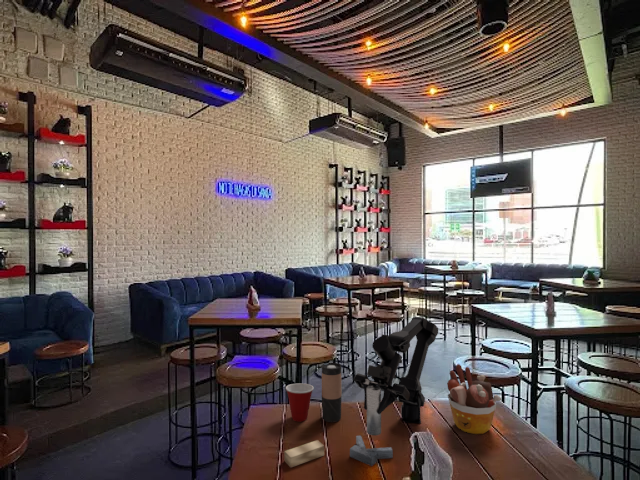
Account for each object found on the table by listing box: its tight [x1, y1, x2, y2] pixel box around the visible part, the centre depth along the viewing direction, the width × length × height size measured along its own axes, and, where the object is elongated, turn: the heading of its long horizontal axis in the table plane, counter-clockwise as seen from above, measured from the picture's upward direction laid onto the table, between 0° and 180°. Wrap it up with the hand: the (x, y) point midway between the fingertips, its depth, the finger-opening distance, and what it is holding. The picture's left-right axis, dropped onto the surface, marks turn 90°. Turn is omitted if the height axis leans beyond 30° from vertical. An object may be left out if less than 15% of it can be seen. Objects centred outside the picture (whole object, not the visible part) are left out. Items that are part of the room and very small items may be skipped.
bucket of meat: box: [447, 363, 502, 435], centre depth 136 cm, size 20×16×20 cm
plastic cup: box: [285, 383, 314, 423], centre depth 143 cm, size 11×11×12 cm
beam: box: [283, 439, 325, 468], centre depth 116 cm, size 12×4×3 cm, turn 123°
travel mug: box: [321, 362, 342, 423], centre depth 143 cm, size 8×8×20 cm
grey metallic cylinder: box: [366, 386, 382, 436], centre depth 121 cm, size 5×5×14 cm
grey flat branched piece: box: [349, 435, 394, 467], centre depth 118 cm, size 9×14×2 cm, turn 51°
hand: (371, 411), depth 120 cm, fingers closed on grey metallic cylinder, 5 cm apart
